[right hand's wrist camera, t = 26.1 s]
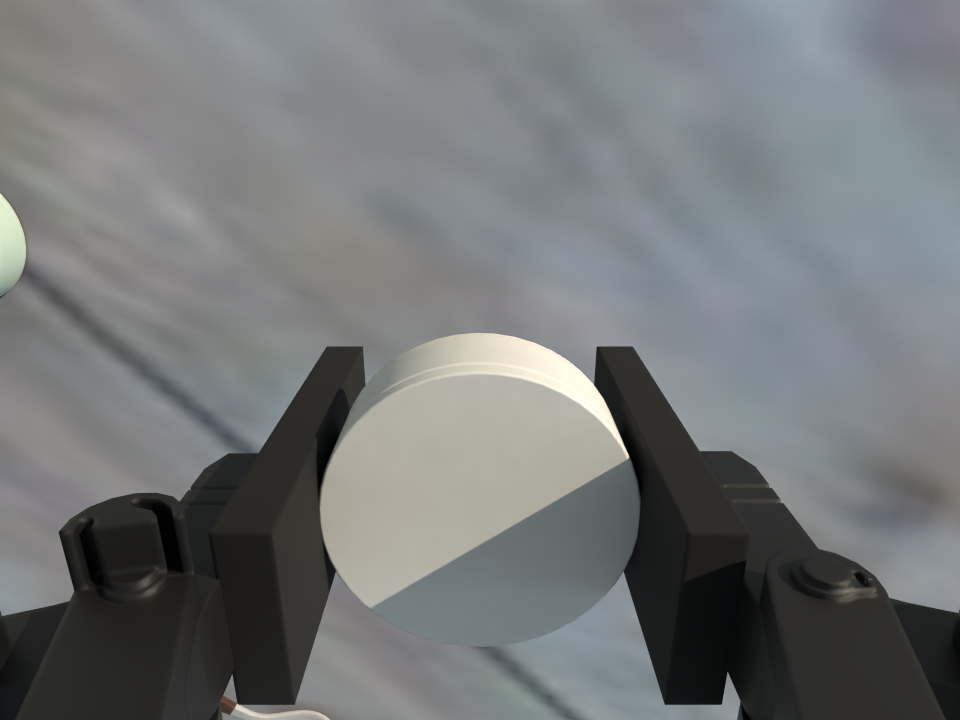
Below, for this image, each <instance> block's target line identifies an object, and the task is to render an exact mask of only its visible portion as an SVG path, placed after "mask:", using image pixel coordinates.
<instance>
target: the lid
mask: <svg viewBox="0 0 960 720" xmlns="http://www.w3.org/2000/svg"><path fill="white" fill-rule="evenodd" d="M640 505H641V497H640V491H639V485H638V480H637V476H636V473H635V470H634V467H633V464H632V461H631V459H630V457H629V455H628V452H627V450H626V448H625V445H624V443H623V441H622V438H621V436H620V434H619V431H618V429H617V427H616V424H615V422H614V420H613V417H612V415H611V413H610V411H609V409H608V407H607V405H606V403H605V401H604V399H603V397H602V396H601V395H600V393H599V392H598V390H597V389H596V387H595V386H594V385H593V384H592V382H591V381H590V380H589V379H588V378H587V377H586V376H585V375H584V374H583V373H582V372H581V371H580V370H579V369H578V368H576V367H575V366H574V365H573V364H571V363H570V362H569V361H568V360H566V359H565V358H563V357H561V356H560V355H558V354H556V353H555V352H553V351H551V350H549V349H547V348H545V347H542V346H540V345H538V344H536V343H533V342H530V341H527V340H523V339H520V338H516V337H512V336H506V335H499V334H486V333H472V334H460V335H453V336H449V337H444V338H439V339H436V340H433V341H430V342H427V343H424V344H421V345H419V346H417V347H415V348H413V349H411V350H409V351H407V352H405V353H403V354H401V355H400V356H398V357H397V358H395V359H394V360H392V361H391V362H389V363H388V364H387V365H385V366H384V367H383V368H382V369H381V370H380V371H379V372H378V373H377V374H375V375H374V376H373V377H372V379H371V380H370V381H369V382H368V383H367V384H366V386H365V387H364V388H363V389H362V391H361V392H360V394H359V395H358V397H357V399H356V400H355V402H354V404H353V405H352V408H351V410H350V412H349V415H348V417H347V419H346V422H345V424H344V426H343V429H342V431H341V433H340V436H339V438H338V440H337V443H336V445H335V447H334V450H333V452H332V454H331V457H330V459H329V461H328V464H327V466H326V468H325V471H324V475H323V479H322V483H321V486H320V495H319V511H320V522H321V531H322V538H323V543H324V545H325V548H326V551H327V553H328V556H329V559H330V561H331V563H332V564H333V566H334V568H335V570H336V572H337V574H338V575H339V577H340V578H341V579H342V581H343V582H344V583H345V585H346V586H347V588H348V589H349V590H350V591H351V592H352V593H353V594H354V595H355V596H356V597H357V598H358V599H359V601H360V602H361V603H363V604H364V605H365V606H366V607H368V608H369V609H370V610H371V611H372V612H374V613H375V614H376V615H378V616H379V617H381V618H383V619H384V620H386V621H387V622H389V623H390V624H392V625H394V626H396V627H398V628H400V629H402V630H404V631H406V632H409V633H411V634H414V635H417V636H420V637H423V638H425V639H429V640H433V641H437V642H441V643H446V644H453V645H461V646H481V647H485V646H499V645H507V644H512V643H518V642H523V641H527V640H530V639H534V638H537V637H540V636H543V635H545V634H548V633H550V632H553V631H555V630H558V629H560V628H561V627H563V626H565V625H567V624H569V623H571V622H572V621H574V620H576V619H577V618H579V617H580V616H581V615H583V614H584V613H586V612H587V611H589V610H590V609H591V608H592V607H593V606H594V605H595V604H597V603H598V602H599V601H600V600H601V599H602V598H603V597H604V596H605V595H606V594H607V593H608V591H609V590H610V589H611V588H612V587H613V586H614V585H615V583H616V582H617V580H618V579H619V577H620V576H621V574H622V573H623V571H624V570H625V568H626V566H627V563H628V561H629V559H630V557H631V555H632V553H633V550H634V547H635V543H636V540H637V536H638V527H639V517H640Z"/></svg>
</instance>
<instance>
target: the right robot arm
mask: <svg viewBox="0 0 960 720" xmlns="http://www.w3.org/2000/svg"><path fill="white" fill-rule="evenodd" d="M594 386H595V387H596V389H597V390H598V392H599V393H600V395H601V396H602V397H603V399H604V401H605V403H606V405H607V407H608V409H609V411H610V413H611V415H612V417H613V420H614V422H615V424H616V427H617V429H618V431H619V434H620V436H621V438H622V441H623V443H624V445H625V448H626V450H627V452H628V455H629V457H630V459H631V461H632V464H633V467H634V470H635V473H636V476H637V480H638V485H639V491H640V497H641V505H640V517H639V527H638V536H637V540H636V543H635V547H634V550H633V553H632V555H631V557H630V559H629V561H628V563H627V566H626V568H625V570H624V574H625V577H626V580H627V584H628V587H629V590H630V593H631V597H632V600H633V603H634V606H635V609H636V613H637V616H638V619H639V622H640V626H641V629H642V632H643V635H644V639H645V642H646V645H647V648H648V651H649V655H650V658H651V661H652V664H653V668H654V671H655V674H656V677H657V680H658V684H659V687H660V690H661V693H662V697H663V700H664V703H665V705H722V700H723V694H724V689H725V683H726V677H727V671H728V673H729V675H730V678H731V680H732V682H733V685H734V687H735V689H736V691H737V694H738V696H739V698H740V701H741V702H740V707H739V713H738V718H737V720H960V610H959V613H954V612H950V611H945V610H940V609H935V608H930V607H926V606H921V605H916V604H911V603H906V602H902V601H899V600H895V599H891V598H889V596H888V594H887V592H886V590H885V589H884V588H883V586H882V585H881V584H880V582H879V581H878V580H877V578H876V577H875V576H874V575H873V574H871V573H870V572H869V571H867V570H866V569H864V568H863V567H862V566H860V565H859V564H858V563H856V562H854V561H851V560H849V559H847V558H845V557H842V556H840V555H838V554H836V553H832V552H828V551H824V550H820V549H818V548H817V546H816V545H815V544H814V543H813V541H812V540H811V539H810V537H809V536H808V535H807V533H806V532H805V531H804V530H803V528H802V527H801V526H800V524H799V523H798V522H797V520H796V519H795V518H794V517H793V515H792V514H791V513H790V511H789V510H788V509H787V507H786V506H785V505H784V503H781V502H780V498H779V497H778V496H777V494H776V493H775V492H774V490H773V489H772V488H769V484H768V483H767V481H766V480H765V479H764V477H763V476H762V475H761V473H760V472H759V471H758V470H757V468H756V467H755V466H753V465H752V464H750V463H749V462H747V461H746V460H744V459H743V458H741V457H739V456H738V455H736V454H735V453H733V452H732V451H699V450H698V448H697V447H696V445H695V443H694V442H693V440H692V439H691V437H690V436H689V434H688V432H687V431H686V429H685V428H684V426H683V425H682V423H681V422H680V420H679V418H678V417H677V415H676V414H675V412H674V411H673V409H672V407H671V406H670V404H669V403H668V401H667V400H666V398H665V396H664V395H663V393H662V392H661V390H660V389H659V387H658V386H657V384H656V382H655V381H654V379H653V378H652V376H651V375H650V373H649V371H648V370H647V368H646V367H645V365H644V364H643V362H642V361H641V359H640V357H639V356H638V354H637V353H636V351H635V350H634V348H633V347H597V351H596V366H595V381H594ZM364 387H365V372H364V358H363V347H326V349H325V350H324V352H323V354H322V355H321V357H320V358H319V360H318V361H317V363H316V365H315V366H314V368H313V369H312V371H311V372H310V374H309V375H308V377H307V379H306V380H305V382H304V383H303V385H302V386H301V388H300V390H299V391H298V393H297V394H296V396H295V397H294V399H293V400H292V402H291V404H290V405H289V407H288V408H287V410H286V411H285V413H284V415H283V416H282V418H281V419H280V421H279V422H278V424H277V426H276V427H275V429H274V430H273V432H272V433H271V435H270V436H269V438H268V440H267V441H266V443H265V444H264V446H263V447H262V449H261V451H260V452H259V453H228V454H227V455H225V456H224V457H222V458H221V459H219V460H218V461H216V462H215V463H213V464H211V465H210V466H208V467H207V468H205V469H204V470H203V472H202V473H201V474H200V476H199V477H198V478H197V480H196V481H195V482H194V484H193V485H192V486H191V490H188V491H187V493H186V494H185V495H184V497H183V498H182V499H181V501H180V502H179V501H178V500H177V499H175V498H174V497H173V496H168V495H164V494H160V493H135V494H130V495H125V496H121V497H116V498H112V499H109V500H106V501H104V502H101V503H99V504H96V505H94V506H91V507H89V508H87V509H86V510H84V511H82V512H81V513H79V514H78V515H76V516H74V517H73V518H71V519H70V520H69V521H68V522H67V523H66V524H65V526H64V527H63V528H62V529H61V530H60V531H59V535H60V539H61V543H62V546H63V550H64V554H65V558H66V561H67V565H68V569H69V572H70V576H71V580H72V584H73V587H74V593H73V596H72V598H71V600H70V601H68V602H65V603H61V604H57V605H53V606H48V607H44V608H39V609H34V610H29V611H25V612H20V613H15V614H10V615H6V616H2V615H1V612H0V720H223V718H222V713H221V707H220V701H221V698H222V696H223V694H224V692H225V689H226V687H227V685H228V682H229V680H230V678H231V676H232V674H233V680H234V685H235V691H236V697H237V703H238V705H295V702H296V698H297V695H298V692H299V689H300V686H301V682H302V679H303V676H304V673H305V669H306V666H307V663H308V660H309V657H310V653H311V650H312V647H313V644H314V640H315V637H316V634H317V631H318V627H319V624H320V621H321V618H322V615H323V611H324V608H325V605H326V602H327V598H328V595H329V592H330V589H331V586H332V582H333V579H334V576H335V573H336V570H335V568H334V566H333V564H332V563H331V561H330V559H329V556H328V553H327V551H326V548H325V545H324V543H323V538H322V531H321V522H320V511H319V495H320V486H321V483H322V479H323V475H324V471H325V468H326V466H327V464H328V461H329V459H330V457H331V454H332V452H333V450H334V447H335V445H336V443H337V440H338V438H339V436H340V433H341V431H342V429H343V426H344V424H345V422H346V419H347V417H348V415H349V412H350V410H351V408H352V405H353V404H354V402H355V400H356V399H357V397H358V395H359V394H360V392H361V391H362V389H363V388H364Z"/></svg>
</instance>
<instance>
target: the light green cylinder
mask: <svg viewBox="0 0 960 720" xmlns="http://www.w3.org/2000/svg"><path fill="white" fill-rule="evenodd" d="M25 260H26V243H25V237H24V233H23V229H22V227H21V224H20V221H19V219H18V217H17V216H16V214H15V212H14V210H13V209H12V207H11V206H10V204H9V203H8V202H7V201H6V199H5V198H4V197H3V196H2V195H1V194H0V296H2V295H3V294H5V293H6V292H8V291H9V290H10V289H11V288H12V287H13V286H14V285H15V284H16V282H17V281H18V279H19V277H20V275H21V274H22V271H23V268H24V265H25Z"/></svg>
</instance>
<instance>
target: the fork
mask: <svg viewBox="0 0 960 720" xmlns="http://www.w3.org/2000/svg"><path fill="white" fill-rule="evenodd" d="M220 707H221V712H223V713H226V714H229V715H233V716H236V717H239V718H242V719H244V720H330V719H329V718H327V717H326V716H324V715H323V714H321V713H318V712H315V711H310V710H295V711H287V712H281V713H273V714H261V713H256V712H253V711H251V710H248V709H246V708H244V707H242V706H240V705H238V704H237V703H235V702H233V701H232V700H230V699H228V698H226V697H224V696H222V698H221V701H220Z"/></svg>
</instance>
